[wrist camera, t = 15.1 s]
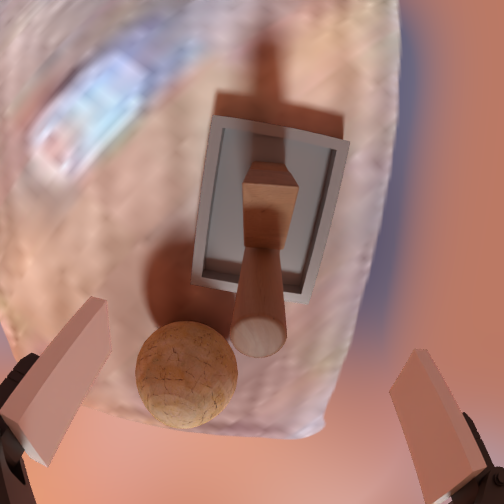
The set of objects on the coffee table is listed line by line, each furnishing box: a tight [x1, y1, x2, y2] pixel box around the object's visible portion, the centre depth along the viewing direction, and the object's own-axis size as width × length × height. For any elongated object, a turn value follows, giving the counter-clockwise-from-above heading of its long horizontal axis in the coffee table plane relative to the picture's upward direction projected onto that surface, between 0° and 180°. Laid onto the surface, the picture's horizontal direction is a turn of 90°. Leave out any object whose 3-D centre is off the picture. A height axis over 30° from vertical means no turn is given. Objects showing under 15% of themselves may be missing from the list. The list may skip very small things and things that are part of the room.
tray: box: [191, 115, 350, 305], centre depth 33 cm, size 19×14×3 cm
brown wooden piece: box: [229, 161, 299, 358], centre depth 25 cm, size 4×11×18 cm, turn 176°
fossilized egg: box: [135, 321, 238, 429], centre depth 35 cm, size 13×13×15 cm
